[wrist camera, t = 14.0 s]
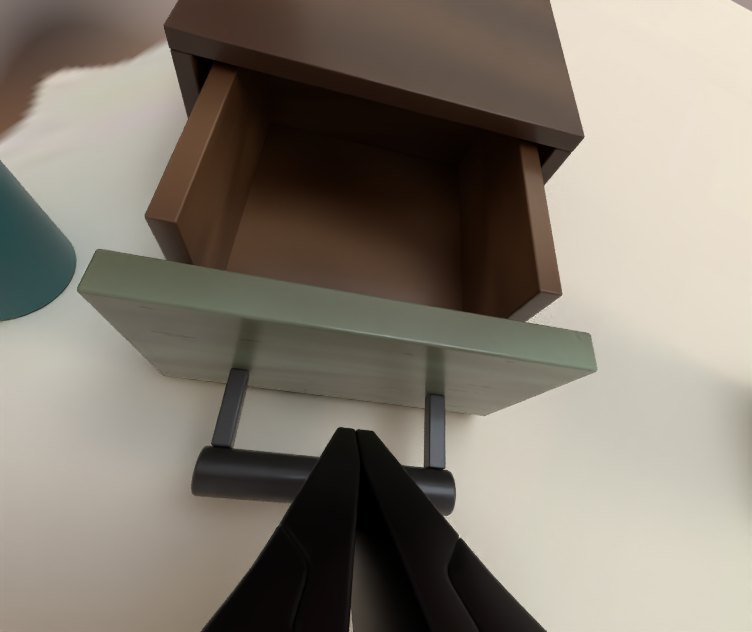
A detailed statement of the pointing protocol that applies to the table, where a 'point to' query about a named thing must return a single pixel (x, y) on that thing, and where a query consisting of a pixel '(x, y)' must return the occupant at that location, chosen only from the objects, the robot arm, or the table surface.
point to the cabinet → (398, 58)
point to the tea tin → (29, 252)
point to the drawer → (341, 269)
